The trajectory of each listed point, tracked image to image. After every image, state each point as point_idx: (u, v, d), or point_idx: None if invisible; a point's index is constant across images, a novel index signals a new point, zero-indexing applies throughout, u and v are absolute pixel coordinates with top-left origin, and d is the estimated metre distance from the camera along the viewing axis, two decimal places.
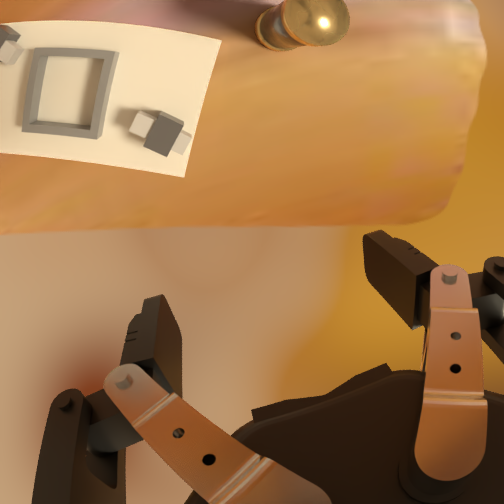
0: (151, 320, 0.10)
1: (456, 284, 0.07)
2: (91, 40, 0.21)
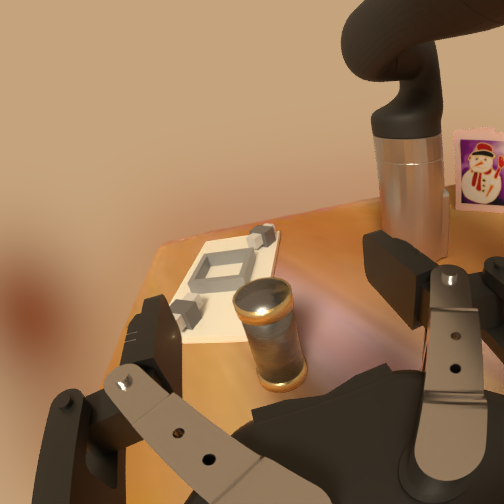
0: (151, 320, 0.10)
1: (456, 284, 0.07)
2: (257, 275, 0.45)
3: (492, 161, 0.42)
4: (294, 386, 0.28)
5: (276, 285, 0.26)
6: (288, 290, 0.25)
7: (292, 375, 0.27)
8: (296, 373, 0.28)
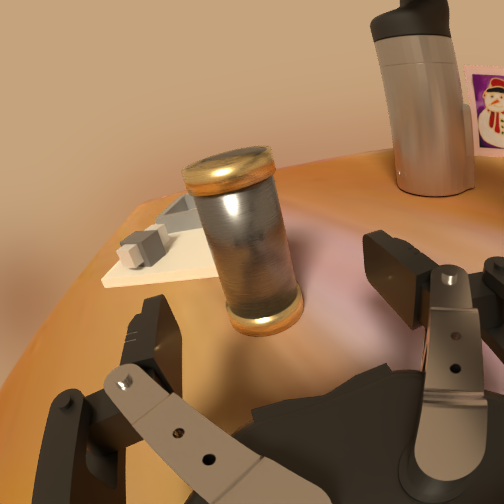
0: (151, 320, 0.10)
1: (456, 284, 0.07)
2: None
3: None
4: (283, 325, 0.18)
5: (250, 149, 0.17)
6: (266, 149, 0.16)
7: (279, 304, 0.18)
8: (285, 301, 0.18)
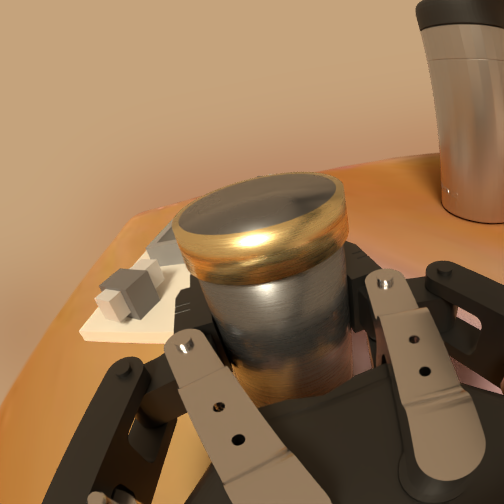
0: (202, 291, 0.11)
1: (389, 289, 0.08)
2: None
3: None
4: None
5: (298, 181, 0.09)
6: (334, 184, 0.08)
7: None
8: None
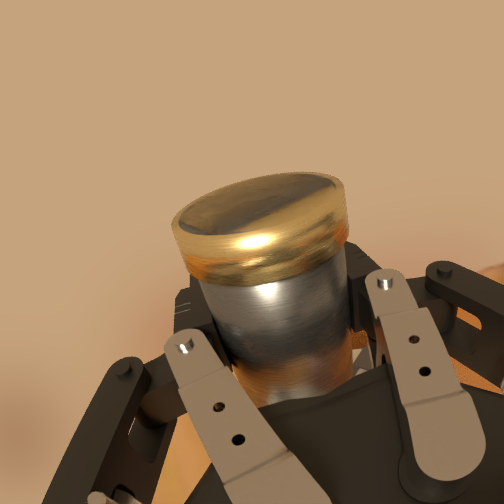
0: (202, 291, 0.11)
1: (389, 289, 0.08)
2: None
3: None
4: None
5: (298, 181, 0.09)
6: (334, 184, 0.08)
7: None
8: None
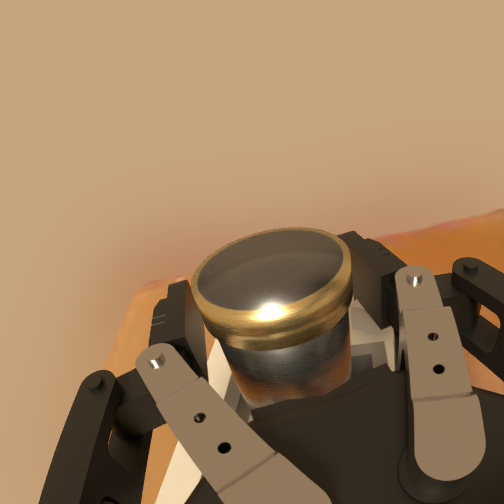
0: (178, 303, 0.10)
1: (420, 285, 0.08)
2: None
3: None
4: None
5: (308, 242, 0.10)
6: (341, 251, 0.09)
7: None
8: None
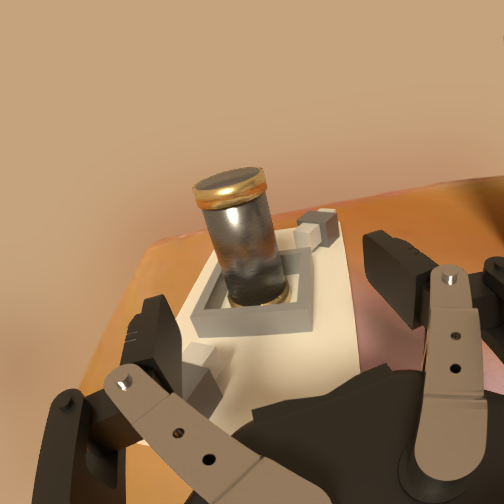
0: (151, 320, 0.10)
1: (456, 284, 0.07)
2: (325, 301, 0.23)
3: None
4: None
5: (247, 170, 0.21)
6: (259, 171, 0.20)
7: (270, 294, 0.23)
8: (275, 292, 0.23)
